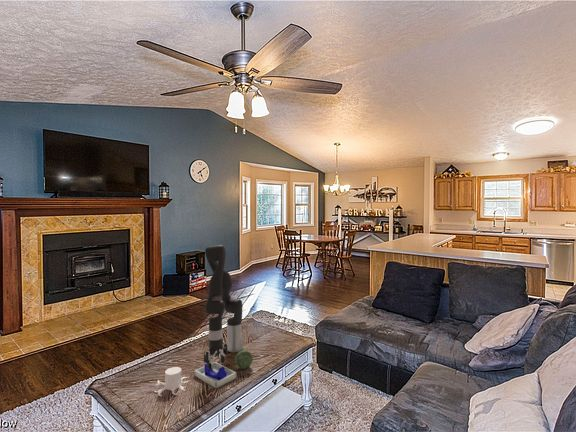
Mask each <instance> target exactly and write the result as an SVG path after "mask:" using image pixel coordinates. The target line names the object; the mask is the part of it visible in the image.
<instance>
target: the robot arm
mask: <svg viewBox="0 0 576 432" xmlns="http://www.w3.org/2000/svg"><path fill="white" fill-rule="evenodd" d="M226 253H227V252H226V248H225V246H224V245H223V244H218V245H216V244H215V245H210V246H207V247H206V248H205V251H204V254H205V258H206V261H207V263H208V264H209V266H210V269H211V271H212V273H213V274H212V275H211V277H210V279H209V285H208V288H209V289H208V297H207V300H206V303H205V306H204V311H205V313H206V314H207V315H216V316H213V317H211V318H209V320H208V347H209V349H208V350H204V351H203V362H204V363H205V364H206V363H207V368H208V369H209V370H211V363H212V361H213V360H214V358H215V357H216V356H219V355H220V363H221V365H222V364H225V361H226V359H225V357H226V355H228V353H229V352H230V353H238V352H239V351H241V350H243V348H244V347H243V346H244V344H243V343H244V341H243V340H244V339H243V338H244V335H243V333H242V321H243V320H242V319H243V301H242V299H239V298H232V297H231V295H230V292H231V290H232V287H233V280H232V277H231V275H230V273H229V272H228V270H226V269H225V265H226V263H225V262H226ZM218 297H221V299H219V300H214V299H215V298H218ZM224 312H226V313H229V314H233V316H231V317H229V318H228V319H226V329H227V330H226V331H227V333H226V334H227V335H226V339H227V343H225V342H223V341H224V339H223V334H224V333H223V316H224Z"/></svg>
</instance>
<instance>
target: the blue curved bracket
mask: <svg viewBox="0 0 576 432" xmlns="http://www.w3.org/2000/svg"><path fill="white" fill-rule="evenodd" d="M204 366H205V375H206V376H209V377H212V378H214V379H217V380H221V379H223V378H225V377H227V372H226V371H225V367H226V366H225V367H221V368H220V369H219V371H218V372H217V373H216V372H215V371H214V370H213V369H212V367H211V370H209V369H208V368H207V363H205V364H204Z"/></svg>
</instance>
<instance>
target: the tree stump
mask: <svg viewBox="0 0 576 432" xmlns="http://www.w3.org/2000/svg"><path fill="white" fill-rule="evenodd" d="M186 378H187V379H188V376H182V367H179V366H172V367H169V368H167V369H166V370H165V371H164V382H161V381H160V379H158V380H157V382H156V383H157V384H154V385H155V386H158V385H162V386H163V387H162V388H161V389H159V390H157V391H156V390H154V393H157V396H159V397H163V395H162V393H163V392H164V391H165V390H167V391H171V394H172V395H174V396H177V395H179V393H175V392H176V390H177V389H180V390H181V391H185V388H186V386H182V385H184V384H185V383H189V382H190V381H191V379H190V380H187V381H183V380H184V379H186Z"/></svg>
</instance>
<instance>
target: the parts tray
mask: <svg viewBox="0 0 576 432" xmlns="http://www.w3.org/2000/svg"><path fill="white" fill-rule="evenodd" d="M211 367H212V369H213V370H214V371H215V372H216V373H217V372H218V371H219V369H220V368H221V367H225V371H226V372H227V377H225V378H223V379H221V380H217V379H214V378H212V377H209V376H206V375H205V365H203V366H202V367H199V368H196V369H195V370H194V377H196V378H198V379H200V380H201V381H203V382H204V383H206V384H208V385H209V386H210V387H212V388H214V389H218V388H220V387H222V386H225V385H226V384H229V383H230V382H232V381H234V380H236V379H237V377H238V376H237V375H238V374H237V372H236V371H234V370H232V369H230V368H229V367H226V366H224V365H222V363H221V364H220V363H219V362H216V361H213V362H211Z"/></svg>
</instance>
